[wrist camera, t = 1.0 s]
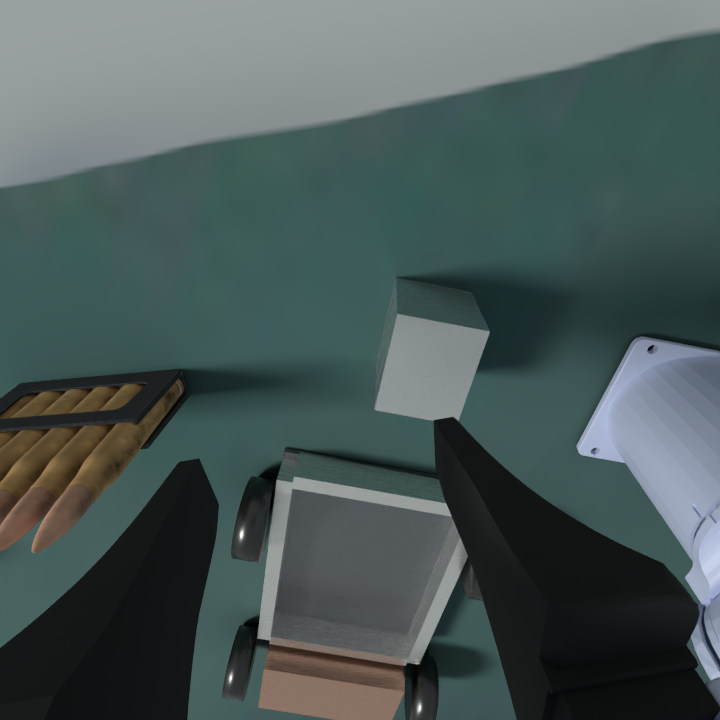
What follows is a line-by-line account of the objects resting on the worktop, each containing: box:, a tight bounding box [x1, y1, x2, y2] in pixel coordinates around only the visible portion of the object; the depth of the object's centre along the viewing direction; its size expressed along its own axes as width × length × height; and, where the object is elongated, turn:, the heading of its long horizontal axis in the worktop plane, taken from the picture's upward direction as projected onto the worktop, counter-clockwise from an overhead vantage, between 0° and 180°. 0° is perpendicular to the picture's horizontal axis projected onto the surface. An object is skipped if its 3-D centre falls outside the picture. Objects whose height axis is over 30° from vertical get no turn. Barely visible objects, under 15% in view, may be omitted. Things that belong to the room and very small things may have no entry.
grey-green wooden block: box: [374, 277, 490, 421], centre depth 22 cm, size 4×5×5 cm
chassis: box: [222, 448, 483, 720], centre depth 33 cm, size 17×24×5 cm
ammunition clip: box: [0, 369, 190, 553], centre depth 22 cm, size 11×2×12 cm, turn 97°
